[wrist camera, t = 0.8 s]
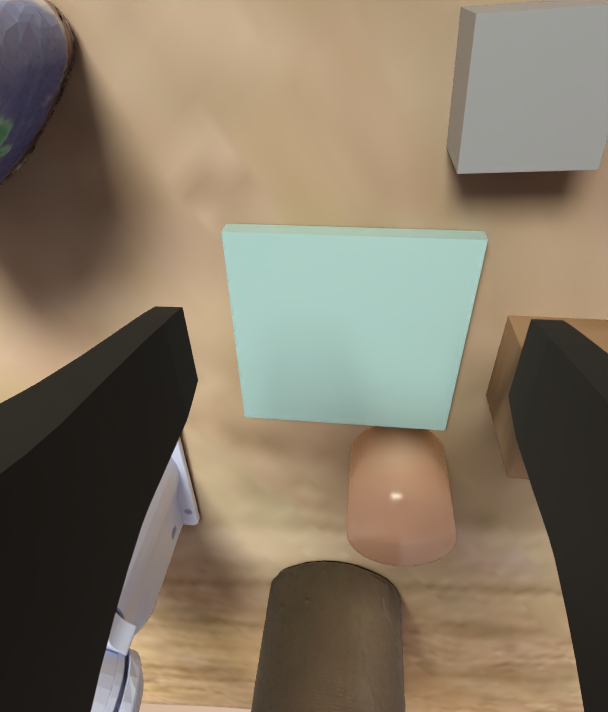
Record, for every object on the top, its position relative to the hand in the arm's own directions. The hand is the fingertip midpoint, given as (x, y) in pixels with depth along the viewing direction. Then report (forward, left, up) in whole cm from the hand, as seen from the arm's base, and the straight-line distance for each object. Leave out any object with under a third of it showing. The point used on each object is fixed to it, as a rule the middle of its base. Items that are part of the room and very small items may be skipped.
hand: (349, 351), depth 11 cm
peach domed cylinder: (-14, -3, -10) cm, 18 cm away
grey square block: (+4, -5, -10) cm, 12 cm away
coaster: (-6, 0, -10) cm, 12 cm away
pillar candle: (-30, 0, -10) cm, 32 cm away
